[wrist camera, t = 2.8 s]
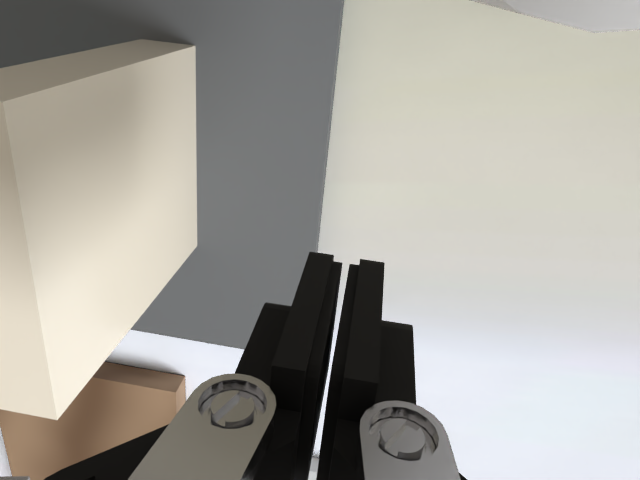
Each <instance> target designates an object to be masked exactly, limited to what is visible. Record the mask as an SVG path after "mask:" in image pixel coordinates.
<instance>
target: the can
mask: <svg viewBox="0 0 640 480" xmlns="http://www.w3.org/2000/svg"><path fill="white" fill-rule="evenodd" d="M471 1H475V2H478V3H482V4H486V5H490V6H494V7H497V8H501V9H505V10H509V11H512V12H516V13H520V14H524V15H528V16H531V17H535V18H539V19H543V20H547V21H550V22H554V23H558V24H562V25H566V26H569V27H573V28H577V29H581V30H584V31H588V32H592V33H601V32H615V31H630V30H640V0H471Z"/></svg>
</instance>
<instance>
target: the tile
mask: <svg viewBox="0 0 640 480" xmlns="http://www.w3.org/2000/svg"><path fill="white" fill-rule="evenodd" d="M196 247H197V159H196V48H195V46H194V45H186V44H178V43H170V42H161V41H153V40H145V39H139V40H135V41H130V42H125V43H120V44H115V45H110V46H106V47H101V48H96V49H91V50H86V51H81V52H77V53H72V54H67V55H62V56H57V57H53V58H48V59H43V60H38V61H33V62H28V63H24V64H19V65H14V66H9V67H4V68H0V409H2V410H7V411H12V412H17V413H23V414H28V415H33V416H38V417H43V418H49V419H54V420H58V419H59V418H60V416H61V415H62V414H63V413H64V411H65V410H66V409H67V408H68V406H69V405H70V404H71V403H72V401H73V400H74V399H75V398H76V396H77V395H78V394H79V393H80V391H81V390H82V389H83V388H84V386H85V385H86V384H87V383H88V381H89V380H90V379H91V378H92V376H93V375H94V374H95V373H96V371H97V370H98V369H99V368H100V366H101V365H102V364H103V363H104V361H105V360H106V359H107V358H108V356H109V355H110V354H111V353H112V351H113V350H114V349H115V348H116V346H117V345H118V344H119V343H120V342H121V340H122V339H123V338H124V337H125V335H126V334H127V333H128V332H129V330H130V329H131V328H132V327H133V325H134V324H135V323H136V322H137V320H138V319H139V318H140V317H141V315H142V314H143V313H144V312H145V310H146V309H147V308H148V307H149V305H150V304H151V303H152V302H153V300H154V299H155V298H156V297H157V295H158V294H159V293H160V292H161V290H162V289H163V288H164V287H165V285H166V284H167V283H168V282H169V280H170V279H171V278H172V277H173V275H174V274H175V273H176V272H177V270H178V269H179V268H180V267H181V265H182V264H183V263H184V262H185V260H186V259H187V258H188V257H189V255H190V254H191V253H192V252H193V251H194V249H195V248H196Z"/></svg>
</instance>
